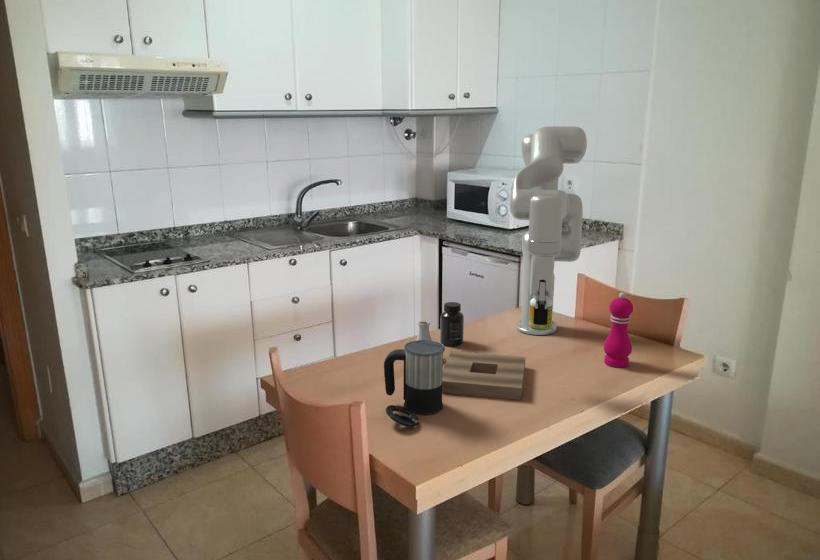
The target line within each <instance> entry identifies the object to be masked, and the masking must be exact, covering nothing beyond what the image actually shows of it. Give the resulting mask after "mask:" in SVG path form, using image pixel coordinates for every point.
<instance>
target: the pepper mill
mask: <svg viewBox="0 0 820 560" xmlns="http://www.w3.org/2000/svg"><path fill="white" fill-rule="evenodd" d="M626 296H627V294H626V293H625V292H619V294H618V297H616V298H614V299H612V300H611V302H610V303H609V308H608V309H609V312H610V313H611V314H610V321H611V329H610V332H609V334H608V336H607V338H606V339H605V341H604V343H603V351H604V354H605V356H604V360H603V362H604V364H605V365H606V366H609V367H612V368H618V369H619V368H620V369H622V368H626V367H628V366H629V364H630V358H629V356H630V355H631V354H632V352H633V348H632V347H633V345H632V342H631V339H630V336H629V331H628V330H629V329H628V326H629V324H630V323H631V316H630V315H632V313H633V312H634V304H633V302H632V300H630V299H628V298H627V297H626Z"/></svg>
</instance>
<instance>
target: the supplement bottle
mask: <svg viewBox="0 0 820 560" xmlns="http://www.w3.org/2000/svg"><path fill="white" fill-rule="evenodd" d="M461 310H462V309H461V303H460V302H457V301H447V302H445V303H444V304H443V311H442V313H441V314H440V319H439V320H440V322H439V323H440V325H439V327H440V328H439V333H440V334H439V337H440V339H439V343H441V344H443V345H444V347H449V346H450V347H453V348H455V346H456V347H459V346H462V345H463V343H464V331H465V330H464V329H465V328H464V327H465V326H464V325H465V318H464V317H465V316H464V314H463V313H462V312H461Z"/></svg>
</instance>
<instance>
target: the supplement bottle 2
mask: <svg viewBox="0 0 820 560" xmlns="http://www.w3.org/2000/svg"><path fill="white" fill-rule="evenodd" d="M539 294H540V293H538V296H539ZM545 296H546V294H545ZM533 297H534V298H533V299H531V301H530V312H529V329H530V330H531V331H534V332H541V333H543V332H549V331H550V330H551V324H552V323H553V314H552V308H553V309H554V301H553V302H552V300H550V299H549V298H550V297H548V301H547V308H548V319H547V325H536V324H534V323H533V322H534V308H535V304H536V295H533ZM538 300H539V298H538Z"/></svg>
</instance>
